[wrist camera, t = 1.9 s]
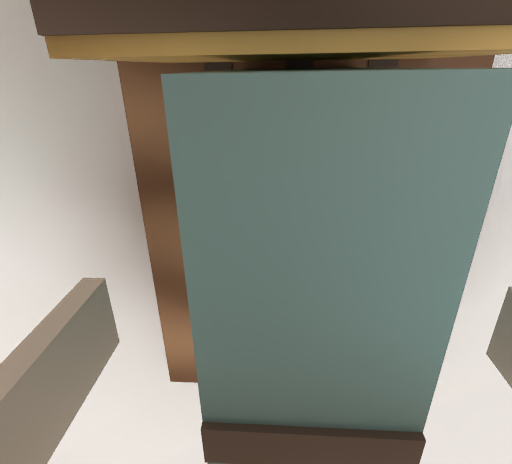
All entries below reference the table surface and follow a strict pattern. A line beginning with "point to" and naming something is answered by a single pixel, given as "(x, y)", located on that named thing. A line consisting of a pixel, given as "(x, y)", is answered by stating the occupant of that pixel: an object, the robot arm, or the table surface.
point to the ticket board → (247, 57)
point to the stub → (328, 249)
